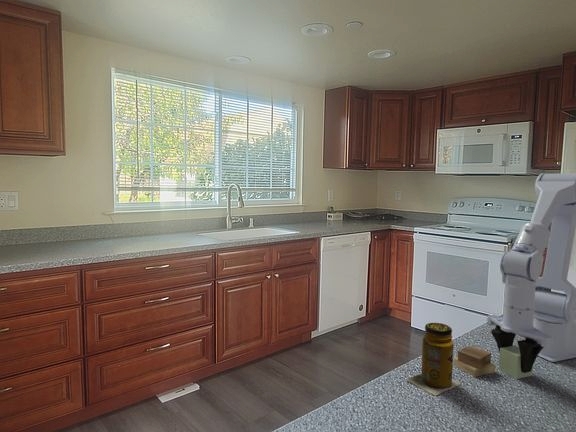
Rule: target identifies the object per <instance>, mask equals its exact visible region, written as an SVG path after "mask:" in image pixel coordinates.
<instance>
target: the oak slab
mask: <svg viewBox="0 0 576 432" xmlns="http://www.w3.org/2000/svg"><path fill="white" fill-rule="evenodd" d="M453 365H454V367H457V368H458V369H459V370H461V371H464V372H465V373H467V374H468V375H470V376H472V377H473V378H474V377H479V376H483V375H489V374H495V373H496V368H497V367H496V366H497V365H495V364H494V363H492V362H491V363H489V364H487V365H485V366H484V367H482V368H480V369H479V368H476V367H473V366H471V365H468V364H466V363H463V362H460V361H458V356H456V357H453Z"/></svg>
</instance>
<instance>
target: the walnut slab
mask: <svg viewBox="0 0 576 432" xmlns="http://www.w3.org/2000/svg"><path fill="white" fill-rule="evenodd" d="M457 357H458V361H460V362H463V363H466V364H468V365H471V366H473V367H476V368H479V369H480V368H482V367H484V366H485V365H487V364H489V363H492V352H490V351H486V350H484V349H481V348H477V347H475V346H472V345H468V346H465V347H464V348H462V349H459V350H457Z"/></svg>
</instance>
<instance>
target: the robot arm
mask: <svg viewBox="0 0 576 432" xmlns="http://www.w3.org/2000/svg"><path fill="white" fill-rule="evenodd" d="M534 190H535V191H534V192H535V194H536V195H535V196H536V199H537V201H536V203H535V207H534V210H533V213H532V216H531V218H530V222H529V223H524V224H523V225H522V226H521V228H520V231H519V233H518V235H517V237H516V239H515V241H514V243H513V245H512V247H511V249H510V250H508V251H506V252H504V253H503V255H502V256H501V259H500V263H499V268H500V269H499V270H500V272H501V273H500V274H501V279H502V280H501V282H502V284H504V293H503V294H504V296H503V311H502V312H503V313H502V316H499V315H495V314H490V315H489V314H488V315H487V321H486V323H487V324H488V325H491V326H495V327H494V328H493V329H491V330H490V333H491V335H492V336H493V338H494V340H495V341H494V342H495V343H496V346H497V348H498V351H499V352H498V353H499V354H500V348H503V347H508V346H514V341H515V338H516V335H517V336H520V337H522V338H524V339H521V340H520V339H519V340H517V341H516V342H517V346H518V347H519V349H520V355H521V372H523V373H527V372H531V370H532V367H533V368H534V363H535V361H536V360H537V357H539V358H542V359H545V360H547V361H549V362H551V363H555V362H560V361H565V360H569V359H570V360H571V359H574V358H576V322H575V321H574V320H576V287H575V286H574V285H573V284H572V283H571V282H570V281H569V280H568V276H569V275H568V274H569V269H570V262H571V256H572V252H573V245H574V239H575V234H576V173H575V172H573V173H572V172H571V173H568V172H567V173H565V172H564V173H546V172H545V173H544V172H542V173H540V174H539V175H538V176H537V177H536V180H535V183H534ZM549 227H550V230H549ZM546 247H547V250H546ZM545 251H546V256H545V257H544V256H543V254H544V252H545ZM544 260H545V262H544ZM543 262H544V266H543ZM543 267H544V268H543ZM542 271H543V273H542ZM541 274H542V276H541ZM547 289H550V290H547ZM552 290H554V291H552ZM556 291H558V292H556ZM561 292H563V293H561Z"/></svg>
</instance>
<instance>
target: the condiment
mask: <svg viewBox="0 0 576 432" xmlns="http://www.w3.org/2000/svg"><path fill="white" fill-rule="evenodd" d="M452 329H453V328H451V326H449V325H447V324H445V323H442V322H441V323H440V322H429V323H427V324H425V327H424V333H423V334H424V336H423V337H422V345H421V346H422V349H421V350H422V351H421V373H418V374H416V375H413V376H411V377H408V378H405V380H406V381H408V382H409V383H411V384H413V385H414V386H416V387H418V388H420V389H421V390H423V391H426V392H427V393H428V394H431V395H434V396H435V397H437V396H438V395H440V394H442V393H444V392H446V391H449V390H451V389H453V388H455V387H457V386H460V385H461V384H462V383H461V382H458V381H457V380H454V379H453V371H454V370H453V365H454V341H453V339H452V338H453V335H452V334H453V330H452Z"/></svg>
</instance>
